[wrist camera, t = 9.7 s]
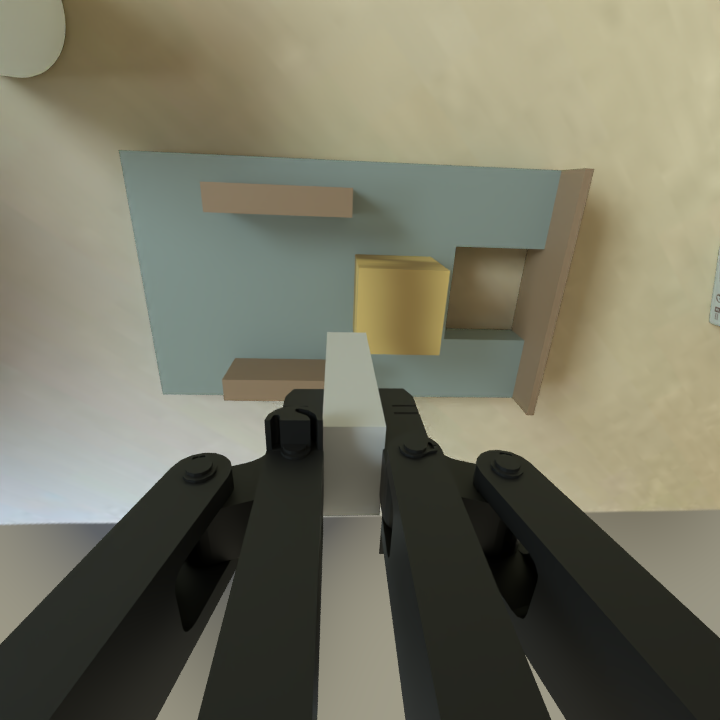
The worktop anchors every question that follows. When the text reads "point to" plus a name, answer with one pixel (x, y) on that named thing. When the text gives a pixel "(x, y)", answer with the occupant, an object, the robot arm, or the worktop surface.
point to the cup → (30, 36)
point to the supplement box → (716, 297)
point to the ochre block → (400, 303)
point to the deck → (337, 266)
